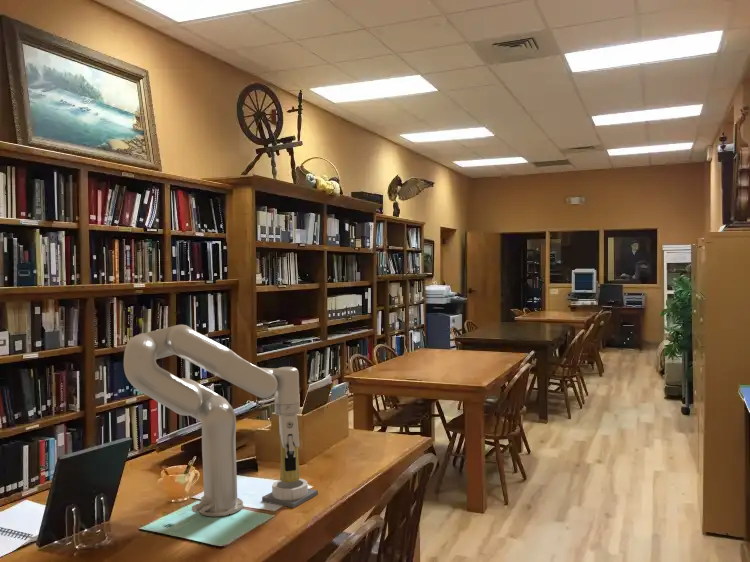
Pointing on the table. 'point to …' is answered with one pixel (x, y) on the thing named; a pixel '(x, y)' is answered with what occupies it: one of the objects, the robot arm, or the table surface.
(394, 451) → the table surface
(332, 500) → the table surface
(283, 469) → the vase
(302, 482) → the mount
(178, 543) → the table surface
